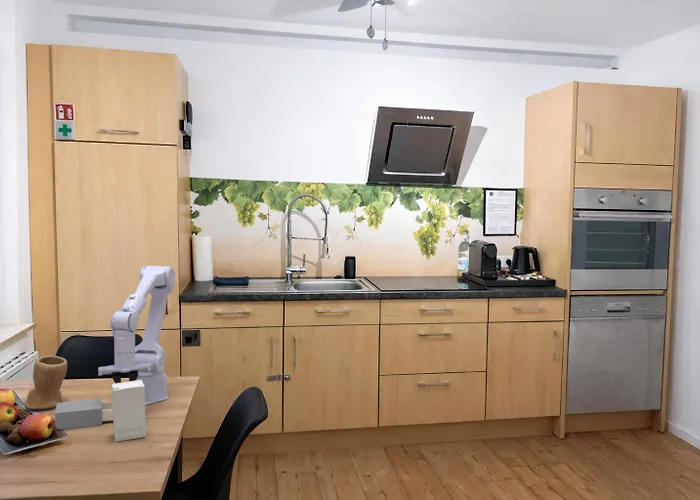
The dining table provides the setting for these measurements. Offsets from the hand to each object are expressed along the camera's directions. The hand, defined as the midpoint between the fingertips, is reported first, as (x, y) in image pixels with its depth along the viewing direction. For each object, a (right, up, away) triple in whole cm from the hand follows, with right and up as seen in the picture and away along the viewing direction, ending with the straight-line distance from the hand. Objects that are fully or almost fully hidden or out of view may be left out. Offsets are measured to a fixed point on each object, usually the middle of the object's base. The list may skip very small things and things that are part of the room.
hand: (125, 396), depth 177 cm
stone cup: (-28, -5, +10) cm, 31 cm away
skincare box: (+6, -8, -13) cm, 17 cm away
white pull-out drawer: (-5, -6, -2) cm, 8 cm away
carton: (-12, -7, -4) cm, 14 cm away
